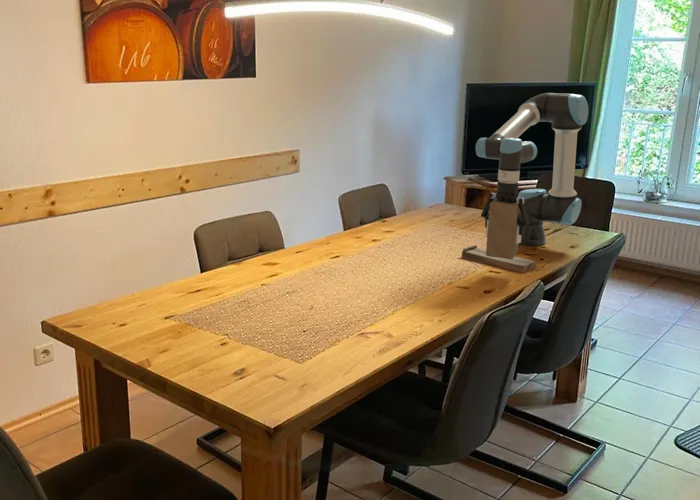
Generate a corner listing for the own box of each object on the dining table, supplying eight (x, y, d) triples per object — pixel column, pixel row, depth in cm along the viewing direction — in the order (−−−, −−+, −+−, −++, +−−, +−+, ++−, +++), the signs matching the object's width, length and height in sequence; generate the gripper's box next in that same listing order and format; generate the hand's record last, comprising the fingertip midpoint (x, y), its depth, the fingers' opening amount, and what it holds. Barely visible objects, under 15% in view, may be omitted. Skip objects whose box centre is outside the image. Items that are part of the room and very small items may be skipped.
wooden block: (512, 259, 250) (517, 205, 244) (485, 256, 254) (489, 202, 248) (517, 252, 259) (522, 200, 253) (491, 249, 262) (495, 197, 257)
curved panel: (474, 252, 286) (474, 244, 285) (535, 267, 267) (535, 259, 266) (461, 257, 279) (462, 248, 278) (523, 272, 261) (524, 263, 260)
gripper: (474, 178, 254) (470, 235, 260) (532, 187, 238) (526, 248, 244) (485, 176, 259) (481, 232, 265) (543, 185, 244) (537, 244, 249)
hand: (503, 239), depth 255 cm, fingers closed on wooden block, 12 cm apart
